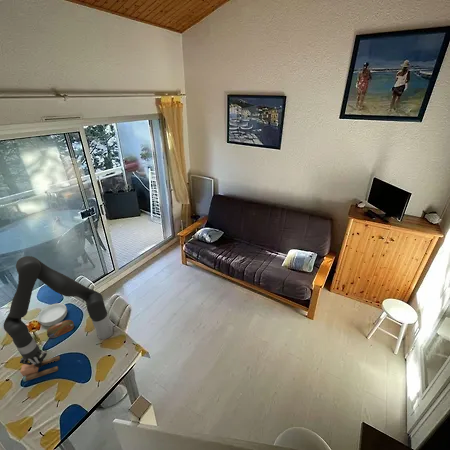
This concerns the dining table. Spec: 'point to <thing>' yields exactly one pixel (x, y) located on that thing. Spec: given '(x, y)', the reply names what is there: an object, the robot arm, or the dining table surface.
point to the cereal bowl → (52, 314)
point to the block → (28, 369)
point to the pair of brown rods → (44, 370)
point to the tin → (60, 328)
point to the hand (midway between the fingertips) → (39, 365)
